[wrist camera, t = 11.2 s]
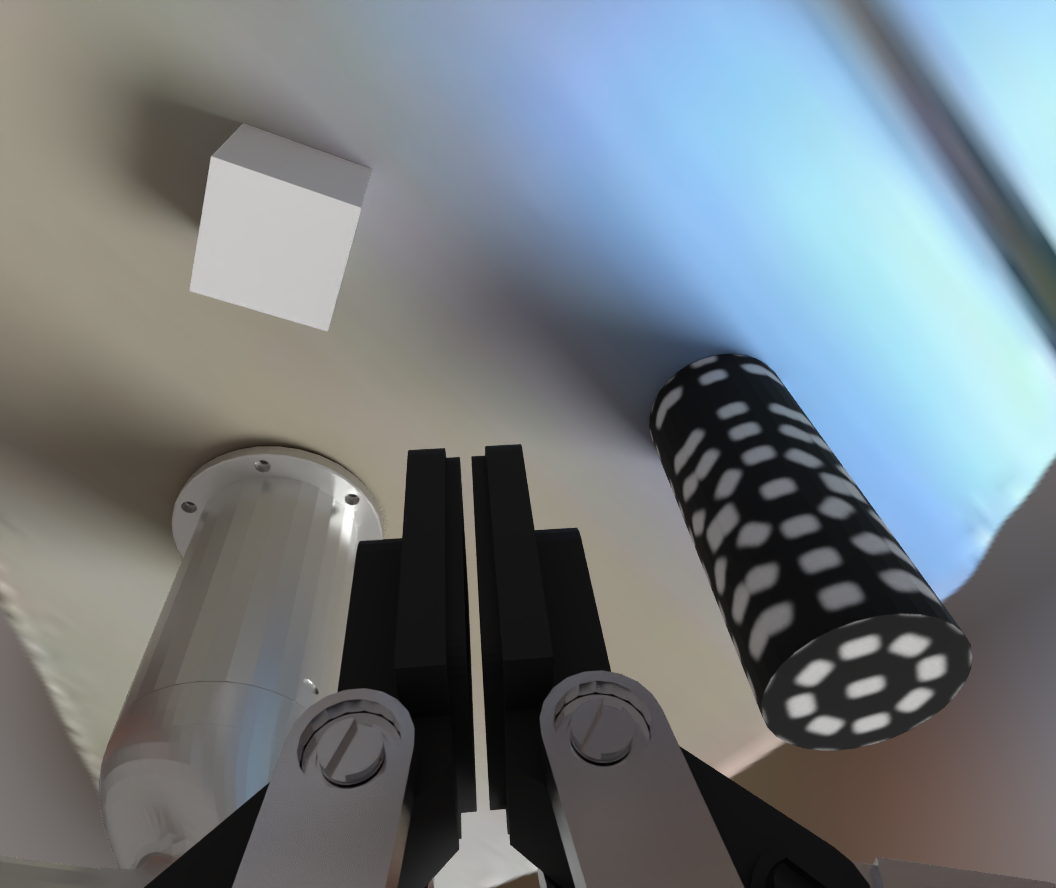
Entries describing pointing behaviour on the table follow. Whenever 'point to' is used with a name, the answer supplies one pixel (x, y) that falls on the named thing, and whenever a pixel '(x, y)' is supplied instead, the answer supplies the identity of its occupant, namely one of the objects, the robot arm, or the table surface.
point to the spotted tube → (802, 564)
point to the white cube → (277, 226)
